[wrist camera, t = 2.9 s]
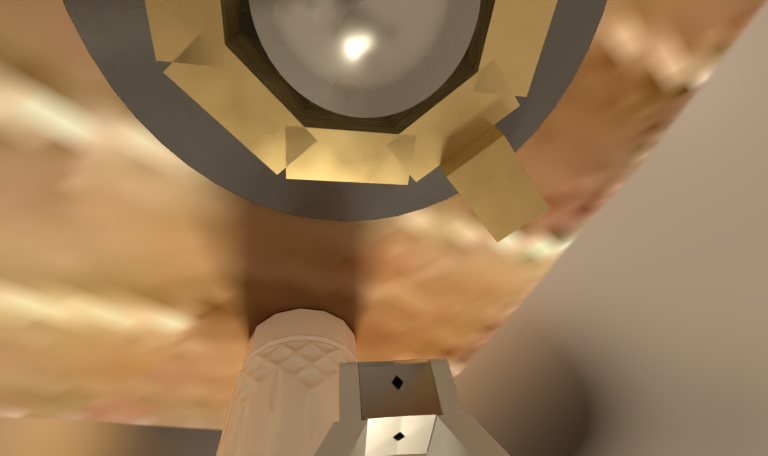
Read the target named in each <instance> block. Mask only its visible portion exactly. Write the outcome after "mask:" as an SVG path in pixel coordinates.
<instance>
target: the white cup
mask: <svg viewBox="0 0 768 456" xmlns="http://www.w3.org/2000/svg"><path fill="white" fill-rule="evenodd" d="M345 362H358V358H357V351H356V343H355V336H354V334H353V332H352V331H351V330H350V328H349V327H348V326H347V324H346V323H345V322H344V320H342V319H340V318H338V317H336V316H334V315H332V314H329V313H327V312H325V311H320V310H310V309H295V310H290V311H286V312H281V313H277V314H274V315H273V316H271V317H270V318H268V319H267V320H265V321H264V322H262V323H260V324H259V325H257V327H256V329H255V330H254V332H253V334H252V336H251V338H250V340H249V342H248V346H247V350H246V354H245V358H244V362H243V366H242V369H241V371H240V373H239V376H238V379H237V382H236V385H235V389H234V393H233V397H232V400H231V403H230V406H229V409H228V413H227V417H226V420H225V424H224V428H223V432H222V436H221V440H220V443H219V448H218V451H217V455H216V456H314V454H315V452H316V451H317V449H318V448H319V446H320V444H321V443H322V441H323V439H324V438H325V436H326V434H327V433H328V431H329V429H330V428H331V426H332V424H333V423H334V422H339V363H345Z"/></svg>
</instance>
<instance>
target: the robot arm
mask: <svg viewBox="0 0 768 456" xmlns="http://www.w3.org/2000/svg"><path fill="white" fill-rule="evenodd" d="M420 453H421V454H422V453H427V456H510V455H509V454H508V453H507V452H506V451H505V450H504V449H503V448H502V447H501V446H500V445H499V444H498V443H497V442H496V441H495V440H494V439H493V438H492V437H491V436H490V435H489V434H488V433H487V432H486V431H485V430H484V429H483V428H482V427H481V426H480V425H479V424H478V423H477V422H476V421H475V420H474V418H473V417H472V416H471V415H470V414H463V411H462V407H461V404H460V401H459V397H458V394H457V390H456V387H455V384H454V380H453V377H452V373H451V370H450V367H449V363H448V361H447V360H446V359H445V358H438V359H412V360H395V361H383V362H345V363H339V422H334V423H333V424H332V426H331V428H330V429H329V431H328V433H327V434H326V436H325V438H324V439H323V441H322V443H321V444H320V446H319V448H318V449H317V451H316V452H315V454H314V456H388V455H401V454H420Z"/></svg>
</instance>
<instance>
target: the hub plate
mask: <svg viewBox="0 0 768 456" xmlns="http://www.w3.org/2000/svg"><path fill="white" fill-rule="evenodd" d="M63 2H64V5H65V7H66V10H67V12H68V14H69V16H70V18H71V20H72V22H73V23H74V25H75V27H76V29H77V31H78V33H79V35H80V37H81V39H82V41H83V43H84V45H85V47H86V48H87V50H88V52H89V54H90V55H91V57H92V58H93V60H94V61H95V63H96V64H97V66H98V67H99V69H100V71H101V72H102V74H103V75H104V77H105V78H106V80H107V81H108V83H109V84H110V86H111V87H112V89H113V90H114V91H115V92H116V93H117V95H118V96H119V97H120V98H121V100H122V101H123V102H124V103H125V105H126V106H127V107H128V108H129V110H130V111H131V112H132V113H133V114H134V116H135V117H136V118H137V119H138V120H139V121H140V122H141V123H142V124H143V125H144V126H145V127H146V128H147V129H148V130H149V131H150V132H151V133H152V134H153V135H154V136H155V137H156V138H157V139H158V140H159V141H160V142H161V143H162V144H163V145H164V146H165V147H166V148H168V149H169V150H170V151H171V152H173V153H174V154H175V155H176V156H177V157H179V158H180V159H181V160H182V161H183V162H185V163H186V164H187V165H188V166H190V167H191V168H193V169H194V170H196V171H197V172H199V173H200V174H202V175H203V176H205V177H206V178H208V179H209V180H211V181H212V182H214V183H215V184H217V185H219V186H221V187H223V188H225V189H227V190H229V191H231V192H233V193H235V194H236V195H238V196H240V197H242V198H245V199H247V200H250V201H252V202H255V203H257V204H260V205H262V206H265V207H267V208H270V209H274V210H278V211H281V212H285V213H288V214H292V215H296V216H302V217H308V218H314V219H320V220H336V221H360V220H375V219H381V218H387V217H393V216H399V215H402V214H406V213H409V212H413V211H416V210H420V209H423V208H426V207H428V206H431V205H433V204H436V203H438V202H441V201H443V200H446V199H448V198H450V197H452V196H453V195H455V194H457V193H458V191H457V190H456V189H455V187H454V186H453V185H452V184H451V182H450V181H449V180H448V178H447V177H446V176H445V174H444V172H443V170H442V169H441V167H440V165H439V166H438V167H436V168H435V169H434V170H432V171H431V172H429V173H428V174H427V175H425V176H424V177H423V178H421V179H420V180H419V181H417V182H416V181H415V180H414V179H413V178H412V177H411V175H409V181H408V185H398V184H379V183H360V182H340V181H321V180H301V179H286V168H285V169H284V170H282V171H281V172H280V173H279V174H278V175H277V174H276V173H275V172H273V171H272V170H271V169H270V168H269V167H268V166H267V165H266V164H265V163H263V162H262V161H261V160H260V159H259V158H258V157H257V156H256V155H255V154H253V153H252V152H251V151H250V150H249V149H248V148H247V147H246V146H245V145H243V144H242V143H241V142H240V141H239V140H238V139H237V138H236V137H235V136H233V135H232V134H231V133H230V132H229V131H228V130H227V129H226V128H225V127H223V126H222V125H221V124H220V123H219V122H218V121H217V120H216V119H215V118H213V117H212V116H211V115H210V114H209V113H208V112H207V111H206V110H205V109H203V108H202V107H201V106H200V105H199V104H198V103H197V102H196V101H195V100H193V99H192V98H191V97H190V96H189V95H188V94H187V93H186V92H185V91H184V90H182V89H181V88H180V87H179V86H178V85H177V84H176V83H175V82H174V81H172V80H171V79H170V78H169V77H168V76H167V75H166V74H165V73H164V71H165V70H166V69H167V68H168V67H169V65H170V64H171V63H172V62H165V61H156V57H155V52H154V47H153V42H152V36H151V31H150V26H149V21H148V15H147V10H146V5H145V0H63ZM480 2H481V0H240V5H241V19H242V31H243V32H244V33H245V34H246V35H247V36H248V37H249V38H250V39H251V40H252V41H253V43H254V44H255V45H256V46H257V47H258V48H259V49H260V50H261V51H262V52H263V53H264V55H265V56H266V57H267V58H268V59H269V60H270V61H271V62H272V63H273V65H274V66H275V68H276V69H277V70H278V72H279V73H280V74H281V75H282V77H283V78H284V79H285V80H286V81H287V82H288V83H289V84H290V85H291V86H292V87H293V88H294V89H295V90H296V91H298V92H299V93H300V94H301V95H302V96H303V97H304V98H305V99H306V100H307V101H308V102H313V103H315V104H317V105H318V106H320V107H322V108H324V109H327V110H329V111H332V112H335V113H337V114H342V115H346V116H350V117H360V118H374V117H382V116H388V115H392V114H395V113H399V112H402V111H404V110H406V109H409V108H411V107H413V106H415V105H417V104H418V103H420V102H422V101H423V100H425V99H426V98H427V97H429V96H430V95H431V94H433V93H434V92H435V91H436V90H437V89H438V88H439V87H440V86H441V85H442V84H443V83H444V82H446V80H447V79H448V78H449V77H450V75H451V74H452V73H453V72H454V70H455V69H456V67H457V66H458V64H459V63H460V61H461V59H462V58H463V56H464V54H465V52H466V50H467V48H468V46H469V44H470V41H471V38H472V36H473V33H474V30H475V27H476V23H477V19H478V15H479V10H480ZM606 2H607V0H558V1H557V4H556V7H555V10H554V13H553V17H552V20H551V23H550V26H549V29H548V32H547V35H546V38H545V41H544V44H543V47H542V51H541V54H540V57H539V60H538V63H537V66H536V69H535V72H534V75H533V78H532V82H531V85H530V88H529V91H528V94H527V97H522V96H515V97H516V99H517V101H518V103H519V105H520V106H519V107H518V108H516V109H515V110H513V111H512V112H511V113H509V114H508V115H507V116H505V117H504V118H503V119H501V120H500V121H499V122H497V123H496V124H494V126H495V127H496V128H497V129H498V130H499V131H500V132H501V133H502V134H503V135H504V136H505V137H506V139H507V141H508V142H509V144H510V146H511V147H512V149H513V150H514V152H516V151H517V150H518V149H519V148H520V147H521V146H522V145H523V144H524V143H525V142H526V141H527V140H528V139H529V138H530V137H531V136H532V135H533V134H534V133H535V132H536V130H537V129H538V128H539V127H540V125H541V124H542V123H543V121H544V120H545V119H546V118H547V116H548V115H549V114H550V113H551V111H552V110H553V109H554V108H555V106H556V105H557V103H558V102H559V100H560V98H561V97H562V95H563V94H564V92H565V91H566V89H567V88H568V86H569V85H570V83H571V82H572V80H573V78H574V76H575V74H576V72H577V70H578V68H579V67H580V65H581V63H582V61H583V59H584V57H585V55H586V53H587V51H588V49H589V47H590V45H591V42H592V40H593V37H594V35H595V32H596V30H597V27H598V25H599V22H600V20H601V17H602V15H603V12H604V9H605V5H606Z"/></svg>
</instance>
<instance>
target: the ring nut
mask: <svg viewBox="0 0 768 456" xmlns="http://www.w3.org/2000/svg"><path fill="white" fill-rule="evenodd" d="M557 1H558V0H481V2H480V10H479V15H478V19H477V23H476V27H475V30H474V33H473V36H472V38H471V41H470V44H469V46H468V48H467V50H466V52H465V54H464V56H463V58H462V59H461V61H460V63H459V64H458V66H457V67H456V69H455V70H454V72H453V73H452V74H451V75H450V77H449V78H448V79H447V80H446V82H444V83H443V84H442V85H441V86H440V87H439V88H438V89H437V90H436V91H435V92H434V93H433V94H431V95H430V96H429V97H427V98H426V99H425V100H423V101H422V102H420V103H418V104H417V105H415V106H413V107H411V108H409V109H406V110H404V111H402V112H399V113H395V114H392V115H388V116H382V117H374V118H360V117H350V116H346V115H342V114H337V113H335V112H332V111H329V110H327V109H324V108H322V107H320V106H318V105H317V104H315V103H313V102H308V101H307V100H306V99H305V98H304V97H303V96H302V95H301V94H300V93H299V92H298V91H296V90H295V89H294V88H293V87H292V86H291V85H290V84H289V83H288V82H287V81H286V80H285V79H284V78H283V77H282V75H281V74H280V73H279V72H278V70H277V69H276V68H275V66H274V65H273V63H272V62H271V61H270V60H269V59H268V58H267V57H266V56H265V55H264V53H263V52H262V51H261V50H260V49H259V48H258V47H257V46H256V45H255V44H254V43H253V41H252V40H251V39H250V38H249V37H248V36H247V35H246V34H245V33H244V32H243V31H242V19H241V5H240V0H145V5H146V10H147V15H148V21H149V26H150V31H151V36H152V42H153V47H154V52H155V57H156V61H165V62H172V63H171V64H170V65H169V67H168V68H167V69H166V70H165V71H164V73H165V74H166V75H167V76H168V77H169V78H170V79H171V80H172V81H174V82H175V83H176V84H177V85H178V86H179V87H180V88H181V89H182V90H184V91H185V92H186V93H187V94H188V95H189V96H190V97H191V98H192V99H193V100H195V101H196V102H197V103H198V104H199V105H200V106H201V107H202V108H203V109H205V110H206V111H207V112H208V113H209V114H210V115H211V116H212V117H213V118H215V119H216V120H217V121H218V122H219V123H220V124H221V125H222V126H223V127H225V128H226V129H227V130H228V131H229V132H230V133H231V134H232V135H233V136H235V137H236V138H237V139H238V140H239V141H240V142H241V143H242V144H243V145H245V146H246V147H247V148H248V149H249V150H250V151H251V152H252V153H253V154H255V155H256V156H257V157H258V158H259V159H260V160H261V161H262V162H263V163H265V164H266V165H267V166H268V167H269V168H270V169H271V170H272V171H273V172H275V173H276V174H277V175H278V174H279V173H280V172H281V171H282V170H284V169H285V168H286V179H301V180H321V181H340V182H360V183H379V184H398V185H408V181H409V175H411V177H412V178H413V179H414V180H415V181H416V182H417V181H419V180H420V179H421V178H423V177H424V176H425V175H427V174H428V173H429V172H431V171H432V170H434V169H435V168H436V167H438V166H439V165H440V167H441V169H442V170H443V172H444V174H445V176H446V177H447V178H448V180H449V181H450V182H451V184H452V185H453V186H454V187H455V189H456V190H457V191H458V193H459V194H460V195H461V196H462V198H463V199H464V200H465V202H466V203H467V204H468V205H469V207H470V208H471V209H472V211H473V212H474V213H475V214H476V216H477V217H478V218H479V220H480V221H481V222H482V223H483V225H484V226H485V227H486V229H487V230H488V231H489V232H490V234H491V235H492V236H493V237H494V239H495V240H496V241H497V242H498V241H500V240H502V239H503V238H505V237H506V236H508V235H509V234H511V233H512V232H514V231H516V230H517V229H519V228H520V227H522V226H523V225H525V224H527V223H528V222H530V221H531V220H533V219H534V218H536V217H537V216H539V215H541V214H542V213H544V212H545V211H547V210H548V209H549V207H548V206H547V204H546V202H545V201H544V199H543V198H542V196H541V194H540V193H539V191H538V189H537V188H536V186H535V185H534V183H533V181H532V180H531V178H530V176H529V175H528V173H527V172H526V170H525V168H524V167H523V165H522V163H521V162H520V160H519V159H518V157H517V155H516V154H515V152H514V150H513V149H512V147H511V146H510V144H509V142H508V141H507V139H506V137H505V136H504V135H503V134H502V133H501V132H500V131H499V130H498V129H497V128H496V127H495V126H494V124H496V123H497V122H499V121H500V120H501V119H503V118H504V117H505V116H507V115H508V114H509V113H511V112H512V111H513V110H515V109H516V108H518V107H519V106H520V105H519V103H518V101H517V99H516V97H515V96H522V97H527V94H528V91H529V88H530V85H531V82H532V78H533V75H534V72H535V69H536V66H537V63H538V60H539V57H540V54H541V51H542V47H543V44H544V41H545V38H546V35H547V32H548V29H549V26H550V23H551V20H552V17H553V13H554V10H555V7H556V4H557Z"/></svg>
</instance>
